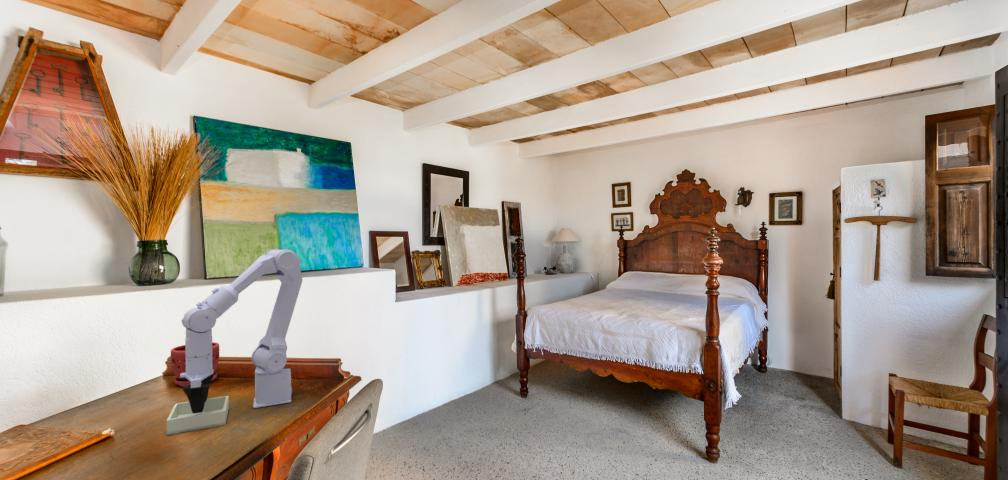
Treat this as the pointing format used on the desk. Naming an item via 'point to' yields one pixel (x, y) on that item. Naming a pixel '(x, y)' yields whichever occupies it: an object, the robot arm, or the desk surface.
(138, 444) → the desk surface
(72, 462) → the desk surface
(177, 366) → the plant pot
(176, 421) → the box
